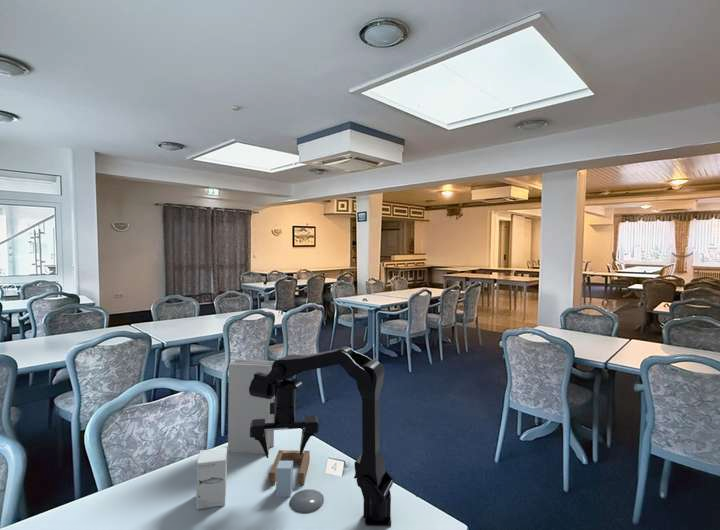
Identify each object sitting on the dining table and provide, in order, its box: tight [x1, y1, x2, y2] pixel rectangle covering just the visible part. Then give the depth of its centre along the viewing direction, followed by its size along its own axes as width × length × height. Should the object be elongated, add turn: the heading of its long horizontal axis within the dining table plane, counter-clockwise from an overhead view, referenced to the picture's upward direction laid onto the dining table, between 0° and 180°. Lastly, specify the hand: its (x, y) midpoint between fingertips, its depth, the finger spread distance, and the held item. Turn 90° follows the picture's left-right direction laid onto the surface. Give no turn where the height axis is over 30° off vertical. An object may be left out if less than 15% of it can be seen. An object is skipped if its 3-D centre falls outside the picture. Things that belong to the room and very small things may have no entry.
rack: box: [269, 449, 311, 486], centre depth 120 cm, size 10×13×4 cm
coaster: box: [290, 488, 325, 513], centre depth 107 cm, size 9×9×1 cm
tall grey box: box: [227, 359, 275, 455], centre depth 134 cm, size 14×6×30 cm, turn 84°
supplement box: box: [195, 447, 228, 511], centre depth 106 cm, size 7×7×13 cm
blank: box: [275, 461, 294, 498], centre depth 110 cm, size 4×4×8 cm
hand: (284, 455), depth 110 cm, fingers open, 9 cm apart
